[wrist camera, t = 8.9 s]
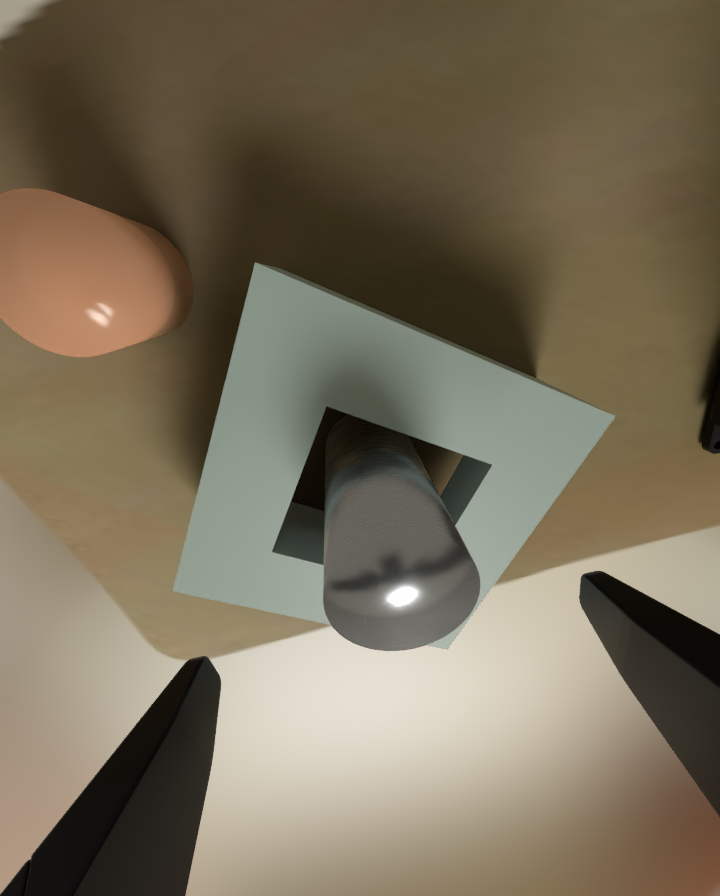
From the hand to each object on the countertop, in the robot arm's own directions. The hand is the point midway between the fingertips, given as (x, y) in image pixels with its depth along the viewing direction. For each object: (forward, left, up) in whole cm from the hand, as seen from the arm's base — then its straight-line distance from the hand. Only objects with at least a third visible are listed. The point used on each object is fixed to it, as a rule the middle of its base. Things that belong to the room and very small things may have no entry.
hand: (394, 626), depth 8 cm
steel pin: (0, 0, -10) cm, 10 cm away
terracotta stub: (+7, -9, -10) cm, 15 cm away
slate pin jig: (0, 0, -10) cm, 10 cm away
